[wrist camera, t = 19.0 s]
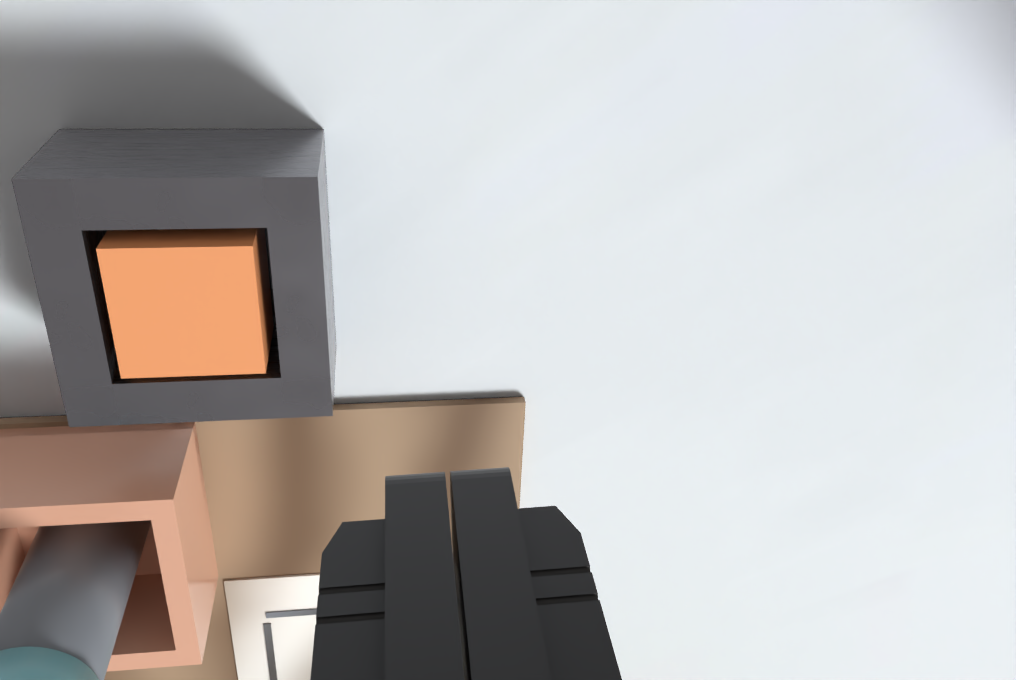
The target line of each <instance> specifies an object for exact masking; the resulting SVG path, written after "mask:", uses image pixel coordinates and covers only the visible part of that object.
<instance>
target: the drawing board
mask: <svg viewBox="0 0 1016 680" xmlns="http://www.w3.org/2000/svg"><path fill="white" fill-rule="evenodd" d="M524 419H525V399H524V397H506V398H482V399H457V400H433V401H408V402H383V403H359V404H334V405H333V416H323V417H299V418H275V419H252V420H228V421H204V422H195V424H196V431H197V437H198V444H199V451H200V457H201V464H202V471H203V477H204V484H205V491H206V497H207V504H208V510H209V517H210V524H211V530H212V537H213V544H214V550H215V557H216V563H217V570H218V581H217V587H216V592H215V597H214V603H213V608H212V613H211V618H210V624H209V629H208V634H207V640H206V645H205V650H204V656H203V661H202V664H199V665H186V666H173V667H160V668H147V669H134V670H121V671H108V672H106V675H105V678H104V680H310V678H311V667H312V656H313V645H314V634H315V625H316V612H317V601H318V595H319V578H320V567H321V556H322V552H323V551H324V549H325V548H326V546H327V545H328V543H329V542H330V540H331V539H332V537H333V536H334V534H335V533H336V531H337V530H338V528H339V527H340V525H341V524H342V522H349V521H363V520H376V519H385V476H393V475H407V474H421V473H436V472H445V477H446V488H447V498H448V509H449V520H450V530H451V541H452V525H451V499H450V471H461V470H475V469H490V468H504V467H509V469H510V472H511V476H512V481H513V486H514V492H515V497H516V502H517V507H518V509H519V504H520V487H521V470H522V453H523V436H524ZM59 426H69V424H68V420H67V416H66V415H63V416H39V417H14V418H0V429H11V428H35V427H59ZM452 552H453V551H452Z"/></svg>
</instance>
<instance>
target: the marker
mask: <svg viewBox="0 0 1016 680" xmlns="http://www.w3.org/2000/svg"><path fill="white" fill-rule="evenodd" d="M150 522H151V520H144V521H126V522H109V523H91V524H73V525H55V526H39V528H38V531H37V533H36V535H35V537H34V540H33V542H32V544H31V546H30V548H29V551H28V553H27V555H26V557H25V559H24V562H23V564H22V566H21V568H20V570H19V573H18V575H17V577H16V579H15V582H14V584H13V586H12V588H11V590H10V593H9V595H8V597H7V599H6V601H5V604H4V606H3V608H2V610H1V612H0V680H104V678H105V675H106V672H107V668H108V665H109V662H110V658H111V655H112V652H113V648H114V645H115V641H116V638H117V635H118V631H119V628H120V625H121V621H122V618H123V615H124V611H125V608H126V605H127V601H128V598H129V594H130V591H131V588H132V584H133V581H134V578H135V574H136V571H137V568H138V564H139V561H140V558H141V554H142V551H143V547H144V544H145V541H146V537H147V534H148V531H149V527H150Z"/></svg>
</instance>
